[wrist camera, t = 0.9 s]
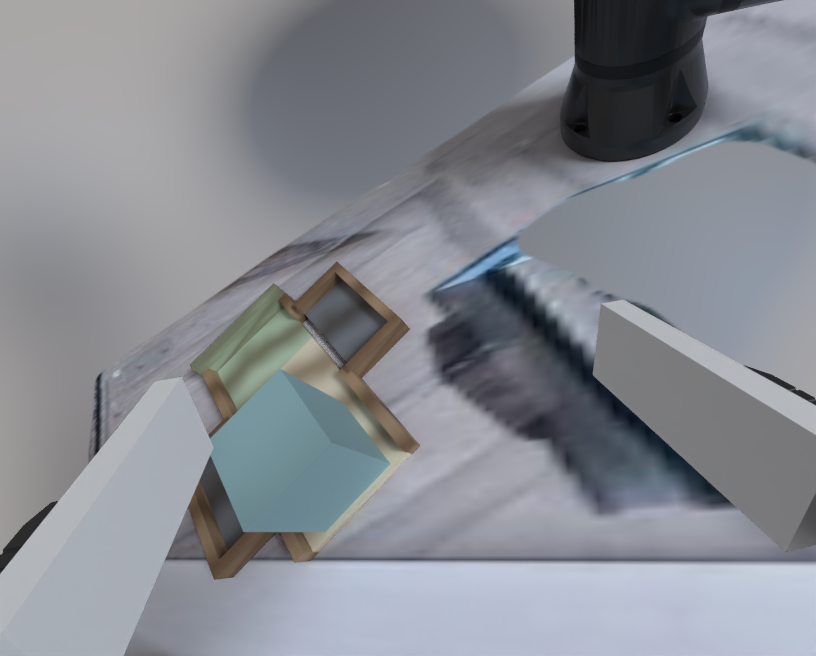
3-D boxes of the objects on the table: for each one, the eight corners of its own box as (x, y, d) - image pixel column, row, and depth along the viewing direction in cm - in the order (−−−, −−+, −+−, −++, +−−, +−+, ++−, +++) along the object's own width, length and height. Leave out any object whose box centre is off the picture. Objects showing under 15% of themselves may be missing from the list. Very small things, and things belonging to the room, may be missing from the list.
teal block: (390, 463, 38) (331, 442, 29) (325, 531, 37) (243, 532, 28) (343, 403, 43) (280, 368, 34) (285, 462, 42) (205, 443, 33)
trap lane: (475, 388, 39) (465, 374, 36) (250, 623, 37) (218, 631, 34) (331, 259, 56) (316, 241, 52) (171, 416, 54) (144, 408, 50)
